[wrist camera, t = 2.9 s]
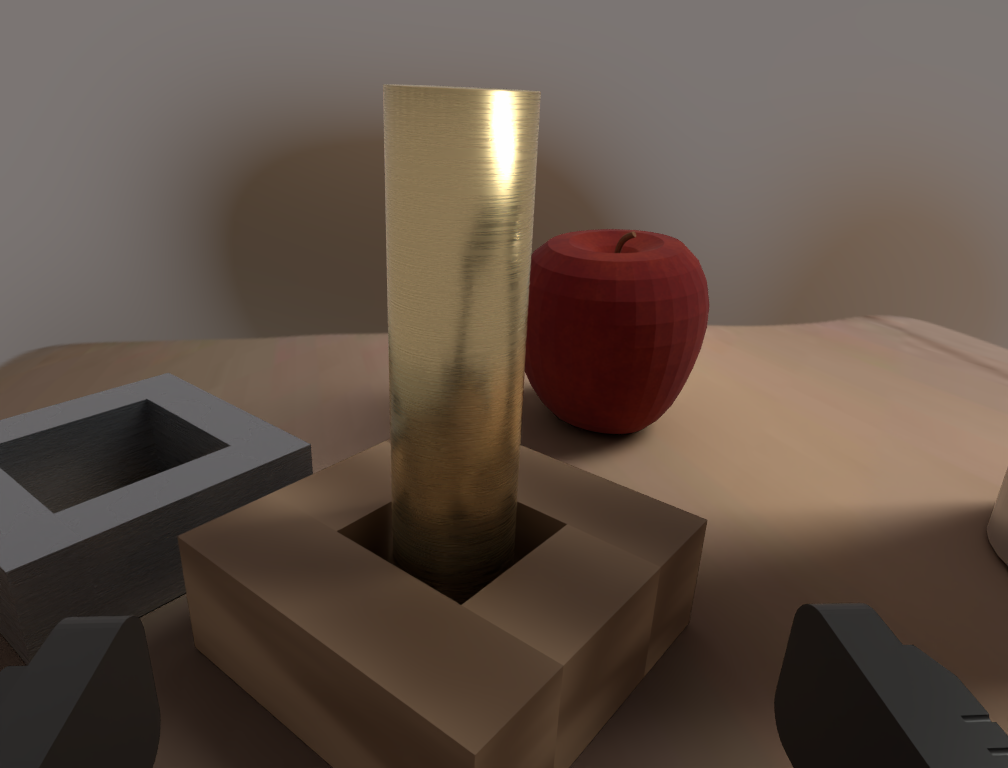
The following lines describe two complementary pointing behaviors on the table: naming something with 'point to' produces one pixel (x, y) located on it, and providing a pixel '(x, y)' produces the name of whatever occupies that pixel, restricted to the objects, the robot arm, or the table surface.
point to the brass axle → (457, 324)
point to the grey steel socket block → (122, 498)
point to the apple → (613, 326)
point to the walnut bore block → (441, 617)
